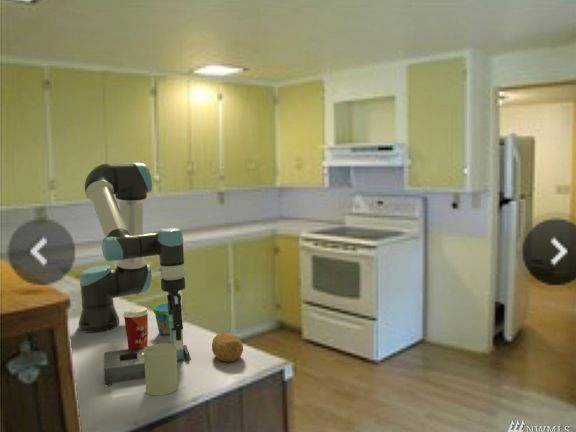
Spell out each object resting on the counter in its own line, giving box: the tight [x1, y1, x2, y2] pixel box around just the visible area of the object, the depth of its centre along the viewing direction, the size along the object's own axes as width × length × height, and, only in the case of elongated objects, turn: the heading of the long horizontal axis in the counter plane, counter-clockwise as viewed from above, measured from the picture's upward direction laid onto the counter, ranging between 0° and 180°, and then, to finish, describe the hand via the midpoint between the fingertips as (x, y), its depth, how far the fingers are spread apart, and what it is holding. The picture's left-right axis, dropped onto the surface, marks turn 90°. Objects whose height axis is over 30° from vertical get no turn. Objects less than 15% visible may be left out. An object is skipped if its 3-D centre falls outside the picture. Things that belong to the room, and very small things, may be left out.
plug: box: [169, 314, 184, 360], centre depth 164 cm, size 4×4×14 cm
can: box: [143, 342, 180, 396], centre depth 144 cm, size 9×9×12 cm
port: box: [103, 345, 150, 387], centre depth 155 cm, size 14×14×5 cm
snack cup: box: [153, 302, 184, 337], centre depth 191 cm, size 16×10×10 cm
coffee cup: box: [122, 306, 149, 349], centre depth 171 cm, size 8×8×15 cm
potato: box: [211, 332, 244, 363], centre depth 163 cm, size 10×14×8 cm
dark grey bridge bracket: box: [177, 344, 192, 363], centre depth 165 cm, size 8×8×3 cm
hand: (176, 342), depth 165 cm, fingers open, 12 cm apart
